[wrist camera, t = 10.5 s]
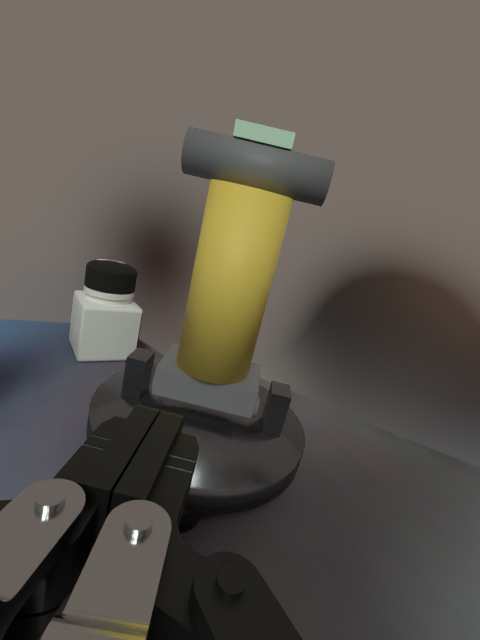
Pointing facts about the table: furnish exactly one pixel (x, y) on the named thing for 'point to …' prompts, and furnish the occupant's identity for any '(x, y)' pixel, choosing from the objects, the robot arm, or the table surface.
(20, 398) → the table surface
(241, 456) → the dark grey round stand
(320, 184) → the yellow mallet
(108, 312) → the medicine bottle
